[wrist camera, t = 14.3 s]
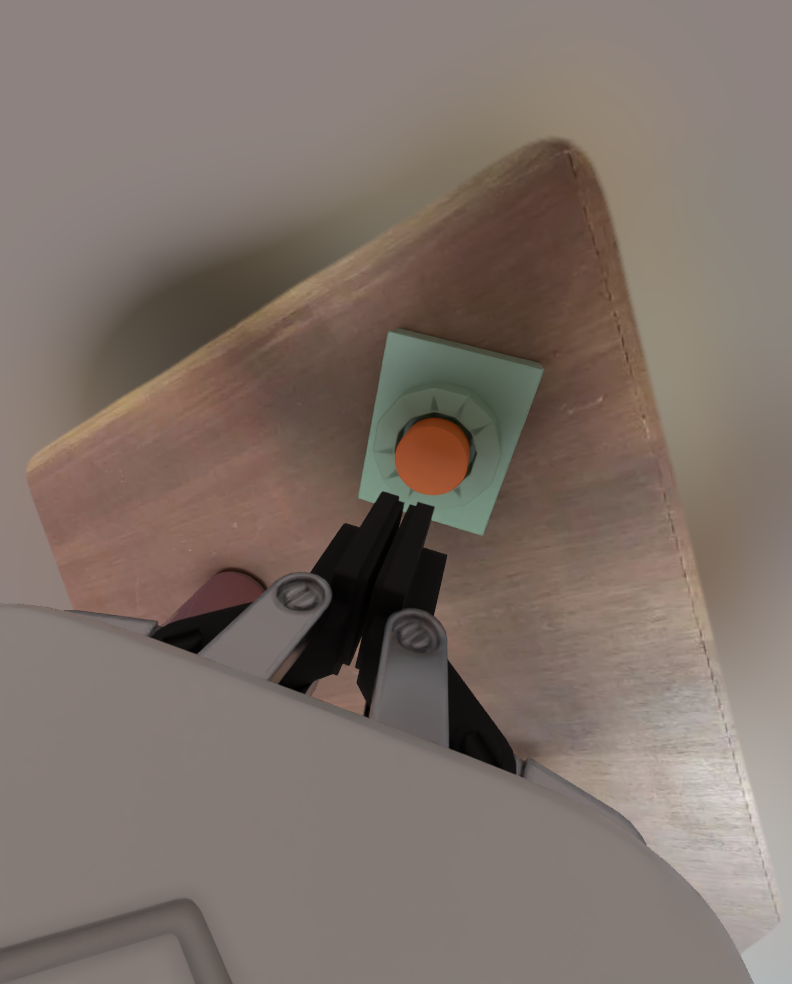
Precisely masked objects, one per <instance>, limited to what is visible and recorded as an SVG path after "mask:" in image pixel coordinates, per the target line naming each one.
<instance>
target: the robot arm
mask: <svg viewBox="0 0 792 984" xmlns="http://www.w3.org/2000/svg"><path fill="white" fill-rule="evenodd" d="M404 504H405V502H401V501H399V496H398V495H394V494H391V493H388V492H384V491H382V492H381V493H380V495H379V497H378V498H377V500H376V502H375V503H374V505H373V507H372V508H371V510H370V512H369V513H368V515H367V516H366V518H365V520H364V521H363V523H362V525H361V526H360V527H357V526H353V525H350V524H347V523H345V524H343V526H342V527H341V528H340V530H339V531H338V533H337V534H336V536H335V537H334V539H333V540H332V541H331V543H330V544H329V546H328V547H327V549H326V550H325V552H324V553H323V555H322V556H321V557H320V559H319V560H318V562H317V563H316V565H315V566H314V568H313V569H312V571H311V572H310V573H307V572H295V573H290V574H287V575H284V576H282V577H281V578H279V579H278V580H277V581H275V582H274V583H273V584H272V585H271V586H270V587H269V588H268V589H267V590H266V591H265V592H264V593H262V594H261V595H260V596H259V597H258V598H257V599H256V600H255V601H253V602H249V603H245V604H241V605H237V606H233V607H229V608H225V609H221V610H217V611H213V612H209V613H205V614H201V615H197V616H193V617H189V618H185V619H181V620H177V621H175V622H172V623H169V624H167V625H165V626H164V627H162V626H158V621H154V620H147V619H139V618H132V617H124V616H117V615H109V614H102V613H94V612H87V611H79V610H64V611H63V610H58V609H53V608H49V607H41V606H33V605H24V604H0V984H754V983H753V981H752V979H751V977H750V975H749V972H748V970H747V968H746V966H745V964H744V962H743V960H742V958H741V956H740V954H739V952H738V950H737V949H736V947H735V945H734V943H733V941H732V939H731V938H730V936H729V934H728V932H727V931H726V929H725V928H724V926H723V925H722V923H721V922H720V920H719V919H718V917H717V915H716V914H715V912H714V911H713V910H712V909H711V908H710V906H709V905H708V904H707V903H706V901H705V900H704V899H703V898H702V896H701V895H700V894H699V893H698V892H697V891H696V890H695V889H694V888H693V887H692V886H691V885H690V884H689V883H688V882H687V881H686V880H685V879H684V878H683V877H682V876H681V875H680V874H679V873H678V872H677V871H676V870H675V869H674V868H673V867H672V866H671V865H669V864H668V863H667V862H666V861H665V860H664V859H662V858H661V857H660V856H659V855H657V854H656V853H655V852H654V851H652V850H651V849H650V848H649V847H647V845H646V843H645V841H644V839H643V837H642V836H641V835H640V833H639V832H638V831H637V829H636V828H635V827H634V826H633V824H632V823H631V822H630V821H629V820H627V819H626V818H625V817H624V816H622V815H621V814H620V813H619V812H617V811H616V810H614V809H613V808H611V807H609V806H608V805H606V804H604V803H603V802H601V801H599V800H598V799H596V798H595V797H593V796H591V795H590V794H588V793H586V792H585V791H583V790H582V789H580V788H578V787H577V786H575V785H573V784H572V783H570V782H569V781H567V780H565V779H564V778H562V777H560V776H559V775H557V774H556V773H554V772H552V771H551V770H549V769H547V768H546V767H544V766H543V765H541V764H539V763H538V762H536V761H534V760H533V759H531V758H530V757H527V759H526V760H523V759H521V758H520V757H518V756H516V755H515V754H513V750H512V749H511V747H510V745H509V743H508V742H507V740H506V738H505V737H504V736H503V734H502V733H501V731H500V730H499V729H498V727H497V726H496V725H495V723H494V722H493V721H492V719H491V718H490V716H489V715H488V714H487V712H486V711H485V710H484V708H483V707H482V706H481V704H480V703H479V701H478V700H477V699H476V697H475V696H474V695H473V693H472V692H471V691H470V689H469V688H468V686H467V685H466V684H465V682H464V681H463V680H462V678H461V677H460V676H459V674H458V673H457V671H456V670H455V669H454V667H453V666H452V665H451V663H450V662H449V661H448V659H447V636H446V631H445V629H444V627H443V625H442V624H441V622H440V621H439V620H438V619H437V618H436V617H435V616H434V613H435V608H436V604H437V599H438V595H439V590H440V586H441V581H442V577H443V572H444V568H445V563H446V559H447V555H446V554H443V553H439V552H436V551H433V550H430V549H427V548H424V547H423V546H424V543H425V540H426V536H427V533H428V529H429V526H430V522H431V519H432V515H433V512H434V508H435V507H434V506H431V505H428V504H424V503H421V502H417V505H416V506H415V505H411V504H410V505H409V507H408V509H407V511H406V513H405V516H404V518H403V520H402V522H401V525H400V521H401V517H402V513H403V509H404ZM399 525H400V527H399ZM361 637H362V639H361ZM360 640H361V644H360V648H359V653H358V657H357V661H356V666H355V668H357V669H359V674H358V679H357V685H358V687H359V688H360V690H361V692H362V694H363V696H364V698H365V700H366V702H365V705H364V710H363V716H361V715H359V714H356V713H353V712H351V711H348V710H345V709H343V708H340V707H337V706H335V705H332V704H329V703H327V702H324V701H321V700H319V699H316V698H313V697H310V696H311V695H312V693H313V692H314V691H315V689H316V687H317V684H318V681H319V679H321V678H324V677H326V676H329V675H332V674H334V675H338V673H339V671H340V669H341V666H342V664H345V665H348V666H349V665H350V664H351V661H352V659H353V657H354V654H355V652H356V649H357V647H358V645H359V642H360Z"/></svg>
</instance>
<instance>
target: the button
mask: <svg viewBox="0 0 792 984" xmlns="http://www.w3.org/2000/svg"><path fill="white" fill-rule="evenodd" d="M469 459H470V444H469V441H468V438H467V436H466V435H465V433H464V432H463V430H462V429H461V428H460V427H459V426H458V425H456V424H455V423H453V422H451V421H449V420H447V419H444V418H437V417H432V418H426V419H423V420H420V421H418V422H416V423H415V424H414V425H412V426H411V427H410V428H409V430H408V431H407V432H406V434H405V435H404V436H403V438H402V439H401V441H400V442H399V444H398V446H397V449H396V452H395V465H396V469H397V472H398V474H399V476H400V478H401V479H402V480H403V482H404V483H405V484H406V485H407V486H409V487H410V488H411V489H413V490H414V491H417V492H419V493H422V494H426V495H441V494H445V493H447V492H450V491H451V490H453V489H455V488H456V487H457V486H458V485H459V484H460V483H461V482H462V480H463V479H464V477H465V475H466V472H467V468H468V464H469Z"/></svg>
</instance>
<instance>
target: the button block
mask: <svg viewBox="0 0 792 984" xmlns="http://www.w3.org/2000/svg"><path fill="white" fill-rule="evenodd" d="M543 372H544V369H543V367H542V365H541V364H540V363H539V362H534V361H530V360H526V359H522V358H518V357H514V356H510V355H506V354H502V353H498V352H494V351H490V350H486V349H482V348H478V347H474V346H470V345H466V344H461V343H457V342H453V341H449V340H445V339H441V338H437V337H433V336H429V335H425V334H421V333H417V332H413V331H409V330H405V329H401V328H397V329H393V330H390V331H388V333H387V339H386V344H385V350H384V356H383V361H382V367H381V372H380V378H379V384H378V389H377V395H376V400H375V406H374V411H373V417H372V423H371V428H370V434H369V439H368V445H367V450H366V456H365V462H364V467H363V473H362V478H361V484H360V490H359V495H358V498H359V499H363V500H366V501H369V502H373V503H375V502H376V500H377V498H378V497H379V495H380V493H381V492H382V491H384V492H388V493H391V494H394V495H398V496H399V501H401V502H405V504H404V509H403V512H406V511H407V509H408V507H409V505H410V504H411V505H415V506H416V505H417V502H421V503H424V504H428V505H431V506H434V507H435V508H434V512H433V515H432V519H431V520H432V521H436V522H439V523H442V524H446V525H449V526H452V527H456V528H459V529H462V530H466V531H469V532H472V533H475V534H479V535H483V534H484V531H485V528H486V526H487V523H488V520H489V518H490V515H491V512H492V509H493V507H494V504H495V501H496V499H497V496H498V493H499V491H500V488H501V485H502V483H503V480H504V477H505V474H506V472H507V469H508V466H509V464H510V461H511V458H512V456H513V453H514V450H515V447H516V445H517V442H518V439H519V437H520V434H521V431H522V429H523V426H524V423H525V421H526V418H527V415H528V412H529V410H530V407H531V404H532V402H533V399H534V396H535V394H536V391H537V388H538V386H539V383H540V380H541V377H542V375H543ZM432 417H437V418H444V419H447V420H449V421H451V422H453V423H455V424H456V425H458V426H459V427H460V428H461V429H462V430H463V432H464V433H465V435H466V436H467V438H468V441H469V444H470V459H469V464H468V468H467V472H466V475H465V477H464V479H463V480H462V482H461V483H460V484H459V485H458V486H457V487H456V488H455V489H453V490H451V491H450V492H447V493H445V494H441V495H426V494H422V493H419V492H417V491H414V490H413V489H411V488H410V487H409V486H407V485H406V484H405V483H404V482H403V480H402V479H401V478H400V476H399V474H398V472H397V469H396V465H395V452H396V449H397V446H398V444H399V442H400V441H401V439H402V438H403V436H404V435H405V434H406V432H407V431H408V430H409V428H410V427H411V426H412V425H414V424H415V423H416V422H418V421H420V420H423V419H426V418H432Z"/></svg>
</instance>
